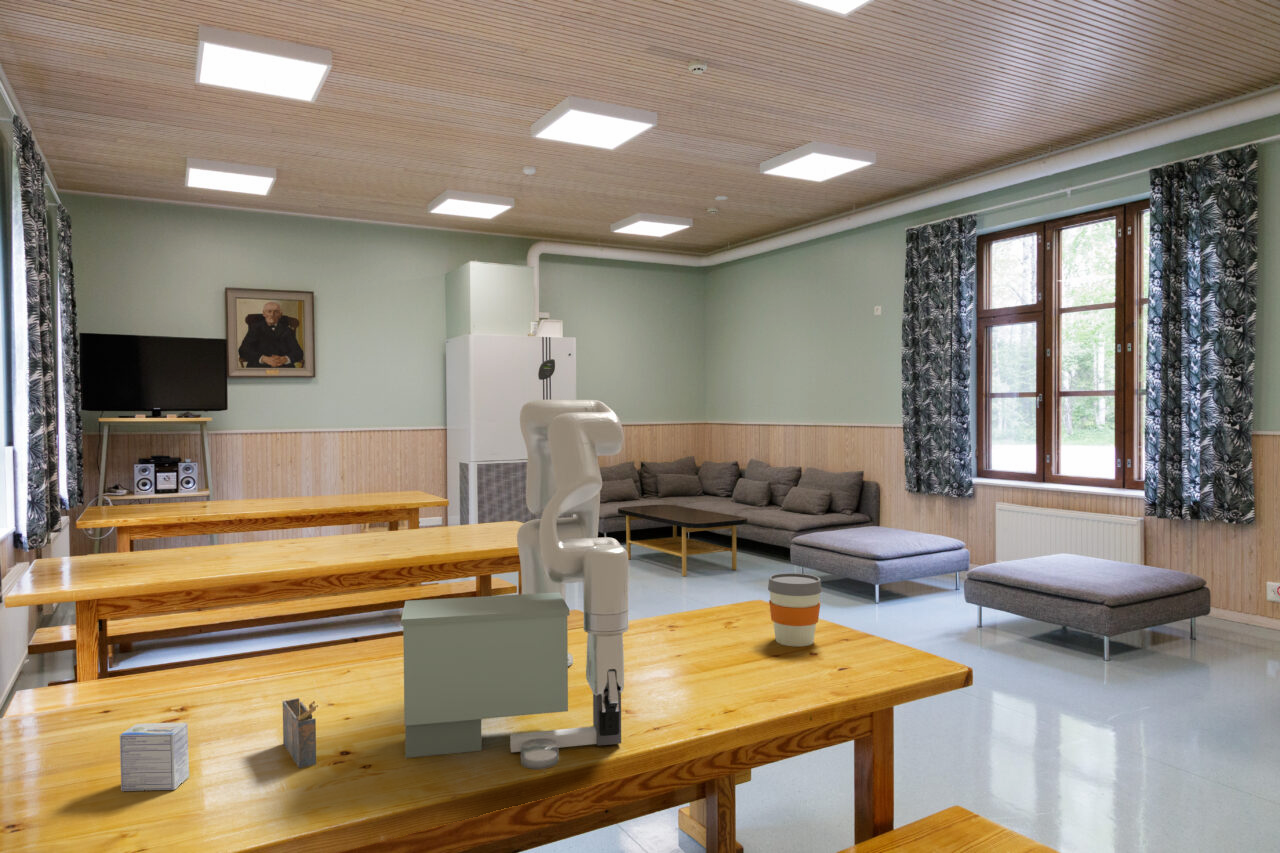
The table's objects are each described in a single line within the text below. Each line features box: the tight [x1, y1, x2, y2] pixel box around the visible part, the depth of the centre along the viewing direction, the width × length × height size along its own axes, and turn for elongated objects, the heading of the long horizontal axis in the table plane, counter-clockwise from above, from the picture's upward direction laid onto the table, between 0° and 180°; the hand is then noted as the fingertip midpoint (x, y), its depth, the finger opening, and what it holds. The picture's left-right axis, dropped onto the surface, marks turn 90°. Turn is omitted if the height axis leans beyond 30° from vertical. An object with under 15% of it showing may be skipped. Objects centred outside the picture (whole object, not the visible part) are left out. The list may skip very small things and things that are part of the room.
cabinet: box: [400, 592, 570, 759], centre depth 139 cm, size 13×27×23 cm, turn 103°
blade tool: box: [509, 689, 622, 753], centre depth 136 cm, size 4×18×9 cm, turn 103°
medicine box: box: [119, 722, 190, 792], centre depth 123 cm, size 8×4×9 cm, turn 92°
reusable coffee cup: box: [767, 572, 823, 647], centre depth 197 cm, size 13×13×15 cm
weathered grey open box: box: [282, 697, 319, 769], centre depth 134 cm, size 11×3×10 cm, turn 35°
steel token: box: [520, 738, 560, 770], centre depth 131 cm, size 6×6×2 cm
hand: (606, 727), depth 138 cm, fingers closed on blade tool, 4 cm apart
